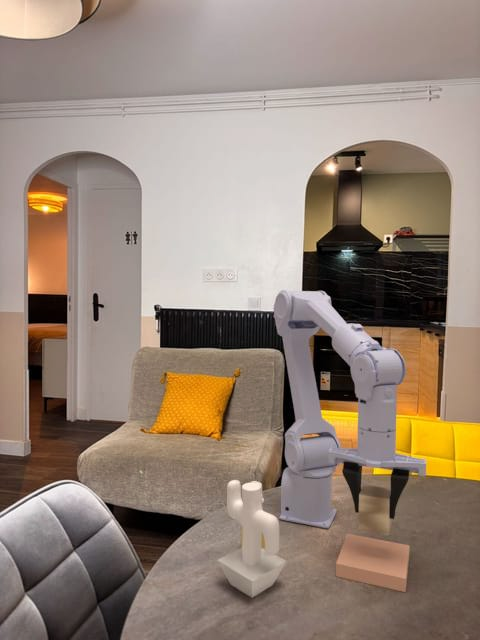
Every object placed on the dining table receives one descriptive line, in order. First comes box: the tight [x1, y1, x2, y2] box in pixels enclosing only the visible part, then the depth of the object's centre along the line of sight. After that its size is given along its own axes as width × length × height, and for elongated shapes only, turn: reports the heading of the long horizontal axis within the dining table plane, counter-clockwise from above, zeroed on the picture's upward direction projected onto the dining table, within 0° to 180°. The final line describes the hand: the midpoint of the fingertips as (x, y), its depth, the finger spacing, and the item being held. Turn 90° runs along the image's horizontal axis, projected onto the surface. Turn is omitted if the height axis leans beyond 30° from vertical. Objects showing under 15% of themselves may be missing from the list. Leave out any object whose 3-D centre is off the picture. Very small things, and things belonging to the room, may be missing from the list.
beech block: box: [357, 484, 392, 536], centre depth 75 cm, size 4×4×6 cm
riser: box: [335, 533, 410, 593], centre depth 75 cm, size 10×10×2 cm
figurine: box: [216, 479, 287, 599], centre depth 69 cm, size 7×9×15 cm
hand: (374, 513), depth 74 cm, fingers closed on beech block, 4 cm apart
